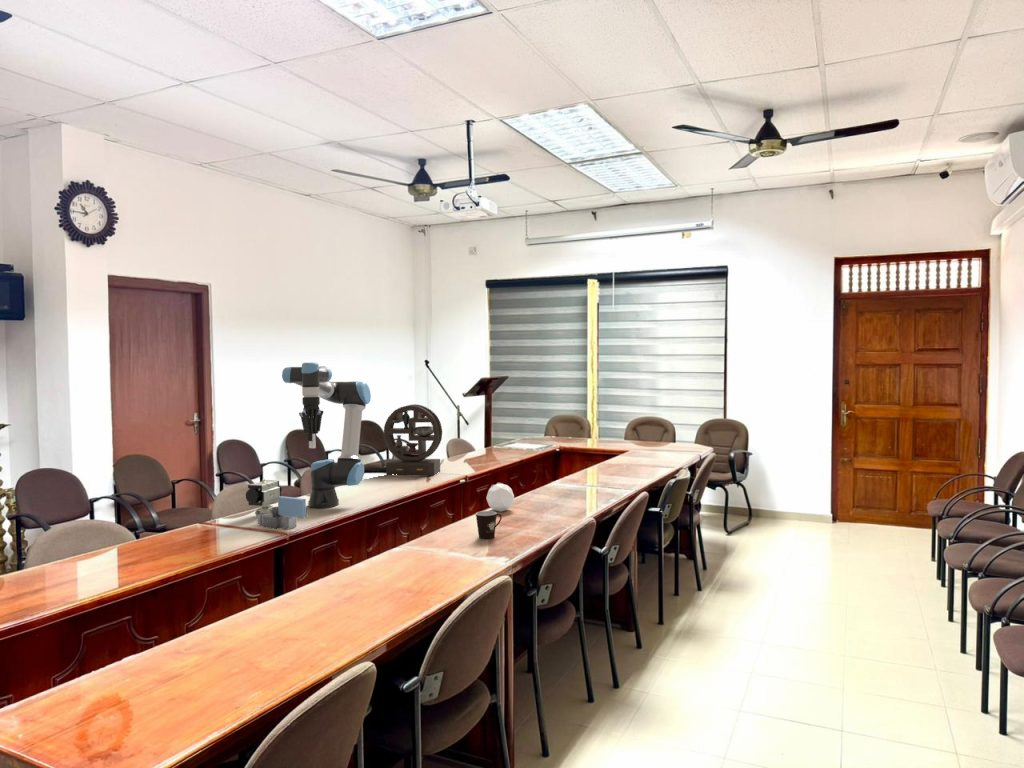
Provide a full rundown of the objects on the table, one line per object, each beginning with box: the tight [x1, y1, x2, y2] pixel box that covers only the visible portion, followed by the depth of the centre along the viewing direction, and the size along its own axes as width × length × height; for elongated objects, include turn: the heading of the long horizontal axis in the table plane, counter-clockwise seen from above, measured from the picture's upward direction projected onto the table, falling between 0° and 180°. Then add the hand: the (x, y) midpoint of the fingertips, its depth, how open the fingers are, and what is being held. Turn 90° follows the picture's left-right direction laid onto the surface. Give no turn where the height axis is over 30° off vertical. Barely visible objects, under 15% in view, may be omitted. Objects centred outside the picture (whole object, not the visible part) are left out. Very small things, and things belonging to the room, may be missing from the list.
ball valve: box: [245, 478, 283, 517], centre depth 324 cm, size 18×8×18 cm, turn 162°
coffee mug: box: [475, 510, 502, 540], centre depth 278 cm, size 12×9×10 cm
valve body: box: [256, 512, 297, 530], centre depth 304 cm, size 8×20×5 cm, turn 61°
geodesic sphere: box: [486, 482, 515, 513], centre depth 327 cm, size 14×14×14 cm
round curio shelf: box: [383, 403, 443, 477], centre depth 439 cm, size 37×19×45 cm, turn 83°
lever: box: [272, 495, 307, 519], centre depth 300 cm, size 19×4×8 cm, turn 61°
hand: (312, 447), depth 308 cm, fingers closed
